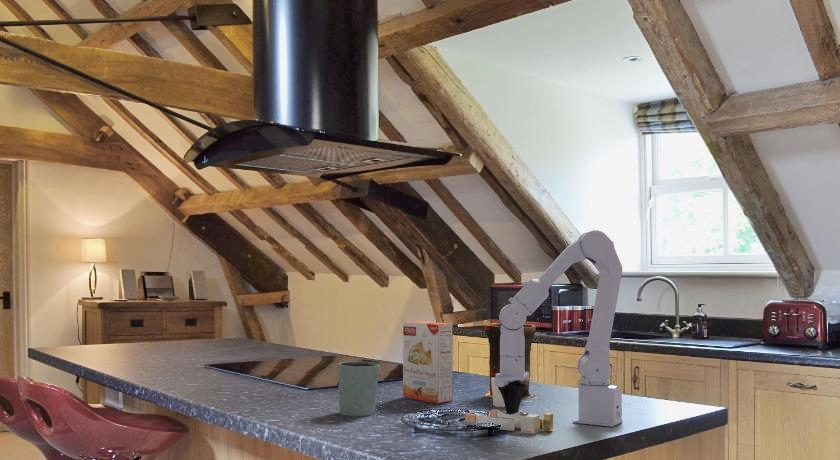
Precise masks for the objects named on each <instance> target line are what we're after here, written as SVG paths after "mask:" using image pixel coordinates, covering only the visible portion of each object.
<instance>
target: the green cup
mask: <svg viewBox="0 0 840 460" xmlns="http://www.w3.org/2000/svg"><path fill="white" fill-rule="evenodd" d="M337 367H338V368H337V369H338V371H337V372H338V396H339V401H338V403H339V406H338V407H339V414H340V415H341V416H345V417H346V416H347V417H367V416H368V417H369V416H373V415H375V413H376V404H377V401H376V400H377V396H378V384H379V383H378V382H379V375H380V373H379V372H380V363H377V362H372V361H342V362H339V363H338V364H337Z"/></svg>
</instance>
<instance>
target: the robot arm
mask: <svg viewBox="0 0 840 460" xmlns="http://www.w3.org/2000/svg"><path fill="white" fill-rule="evenodd" d="M584 260H587V261H588V262H590V263H591V264H592V265H593V266H594V268H595V269H596V270H597V272H598V273H599V278H598V284H597V289H596V293H595V300H594V305H593V312H592V317H591V322H590V328H589V334H588V339H587V341H586V344H585V346H584V351H583V353H582V355H581V356H580V358H579V359H578V362H577V369H578V372H579V373H580V375H581V377H580V379H579V380H578V381H577V382H578V391H577V392H578V417H577V418H575V419H573V420H572V423H573V424H574V423H575V424H582V425H583V424H585V425H590V426H591V425H593V426H601V427H611V428H612V427H615V426H617V425H618V424H620V423H623V422H624V421H623V416H622V415H623V412H622V411H623V407H622V403H623V397H622V395H623V394H622V389H621V387H620V386H619V385H613V384H611V380H610V377H611V375H612V366H611V363H610V356H611V349H610V348H611V347H610V344H611V337H612V331H613V325H614V320H615V315H616V309H617V304H618V297H619V293H620V285H621V280H622V276H623V265H622V263H621V260H620V258H619V256H618V254H617V251H616V248H615V244H614V241H612V239H611V238H610V237H609V236H608V235H607V234H606V233H605V232H603V231H601V230H597V229H595V230H594V229H593V230H590V231H587V232H584V233H582V234H581V235H580V236H579V237H578V238H577V239H576V240H574V241H573V242H572V243H570V244H569V245H568V246H567V247H566V248H565V249H564V250H563V251H562V252H560V254H559V255H558V256H557V258H556V259H554V261H553V262H551V264H550V265H549V266H548V268H547V269H546V270H545V271H544V272H543V273H542V274H541V276H539V278H531V279H529V280H528V281H526V280H525V281H523V283H522V288H521V289H519V291H518V292H517V293H516V294H515V295H514V296H513V297H509V298H508V302H509V304H506V305H505V306H503V307H502V308H501V310H500V312H499V315H498V319H499V322H500V323H502V325H501V329H500V332H501V335H500V373H497V374H496V378H494V386H496V387H498V389H499V391H500V392H501V395H502V397H503V400H504V404H505V407H504V408H505V412H506V413H510V414H514V413H519V409H520V405H521V401H522V399H521V398H522V395H523V393H524V391H525V389H526V387H527V384H526V383H520V381H524V380H529V372H525V337H524V326H523V325H524V324H526V322H527V316H531V315H532V314H533V313H534V312H535V311H536V310H537V309H538V308H539V307H540V306H541V305H542V304H543V303H544V302H545V300H546V299H548V297H549V295H550V293H549V292H550V291H549V288H550V287H551V286H552V285H553V284H554V283H555V282H556V281H558V279H559V278H560V277H561V276H562V275H564V273H565V272H566V271H567V270H568V269H569V268H570V267H571V266H573V264H576V263H579V262H582V261H584ZM529 381H530V380H529Z"/></svg>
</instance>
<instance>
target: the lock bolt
mask: <svg viewBox="0 0 840 460" xmlns="http://www.w3.org/2000/svg"><path fill="white" fill-rule="evenodd" d="M541 431H543V432H552V431H554V413H553V412H545V413H543V418H541V417H540V432H541Z"/></svg>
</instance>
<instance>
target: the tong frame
mask: <svg viewBox="0 0 840 460" xmlns="http://www.w3.org/2000/svg"><path fill="white" fill-rule="evenodd" d="M510 417H511V418H519V419H521V429H520V433H521V434H528V435H535V434H538V433H540V432H541V430H540V418H541V415H540V414H532V413H529V412H526V411H521V412H518V413H514V414H511V415H510ZM511 418H502V417H493V416H490V415H482V414H474V413H466V414H464V422H465V421H466V422H473V423H494V424H500V425H501V428H500V429H499V430H502V431H512V432H513V431H515V427H514V419H511Z"/></svg>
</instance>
